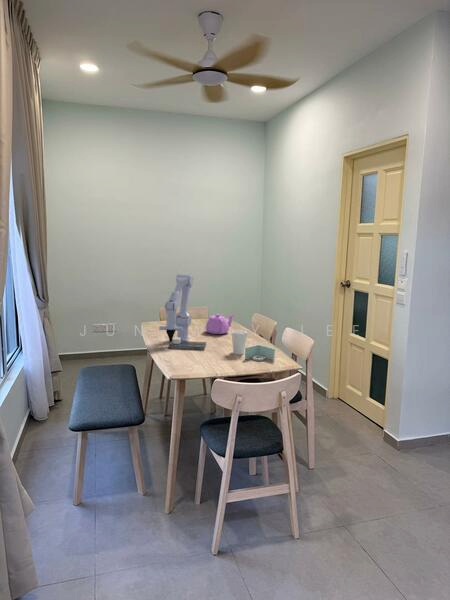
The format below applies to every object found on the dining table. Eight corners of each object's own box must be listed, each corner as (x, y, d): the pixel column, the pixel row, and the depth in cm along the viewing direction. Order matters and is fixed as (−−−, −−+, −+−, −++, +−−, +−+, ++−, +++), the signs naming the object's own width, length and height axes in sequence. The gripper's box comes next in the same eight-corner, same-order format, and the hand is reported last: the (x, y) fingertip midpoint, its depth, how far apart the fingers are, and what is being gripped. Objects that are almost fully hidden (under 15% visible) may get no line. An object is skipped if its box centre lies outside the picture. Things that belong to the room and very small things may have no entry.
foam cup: (232, 354, 244) (233, 333, 242) (229, 350, 253) (230, 330, 251) (247, 354, 246) (248, 333, 244) (244, 350, 255) (245, 329, 253)
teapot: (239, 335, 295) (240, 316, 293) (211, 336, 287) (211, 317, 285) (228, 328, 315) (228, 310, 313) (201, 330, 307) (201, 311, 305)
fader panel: (172, 343, 264) (172, 340, 264) (206, 345, 264) (206, 342, 263) (168, 348, 253) (168, 345, 252) (204, 350, 252) (204, 346, 252)
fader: (174, 341, 261) (174, 337, 260) (180, 342, 260) (180, 337, 260) (173, 343, 256) (173, 339, 255) (179, 344, 256) (179, 339, 255)
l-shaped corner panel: (244, 360, 236) (245, 347, 235) (258, 356, 244) (259, 344, 243) (260, 365, 227) (261, 352, 226) (274, 361, 236) (274, 348, 235)
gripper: (158, 321, 252) (158, 342, 254) (181, 322, 252) (181, 343, 254) (160, 318, 259) (160, 339, 261) (183, 319, 259) (182, 340, 261)
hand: (170, 341), depth 258 cm, fingers closed
